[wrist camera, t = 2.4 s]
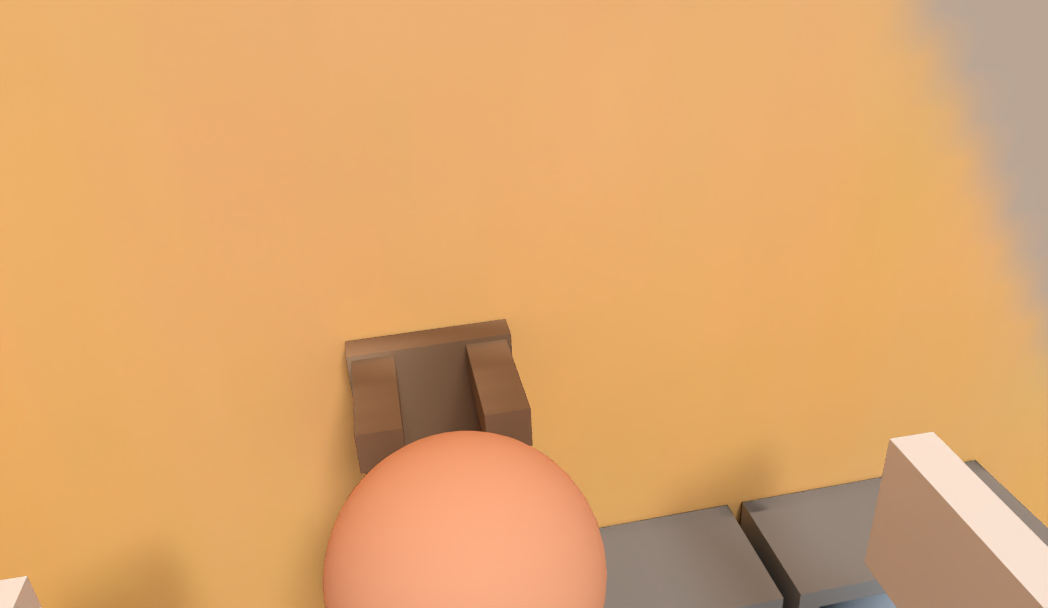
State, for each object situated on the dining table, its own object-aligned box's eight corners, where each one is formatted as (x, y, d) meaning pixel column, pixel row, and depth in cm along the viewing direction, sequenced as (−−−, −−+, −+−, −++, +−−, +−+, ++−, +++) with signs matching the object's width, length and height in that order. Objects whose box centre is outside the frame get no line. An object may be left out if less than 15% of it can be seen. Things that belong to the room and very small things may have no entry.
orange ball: (345, 591, 16) (348, 823, 12) (304, 399, 14) (292, 608, 10) (571, 549, 16) (642, 758, 13) (565, 361, 14) (648, 542, 11)
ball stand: (367, 468, 18) (372, 571, 15) (345, 341, 16) (347, 431, 14) (514, 444, 18) (542, 541, 16) (505, 319, 17) (535, 402, 14)
